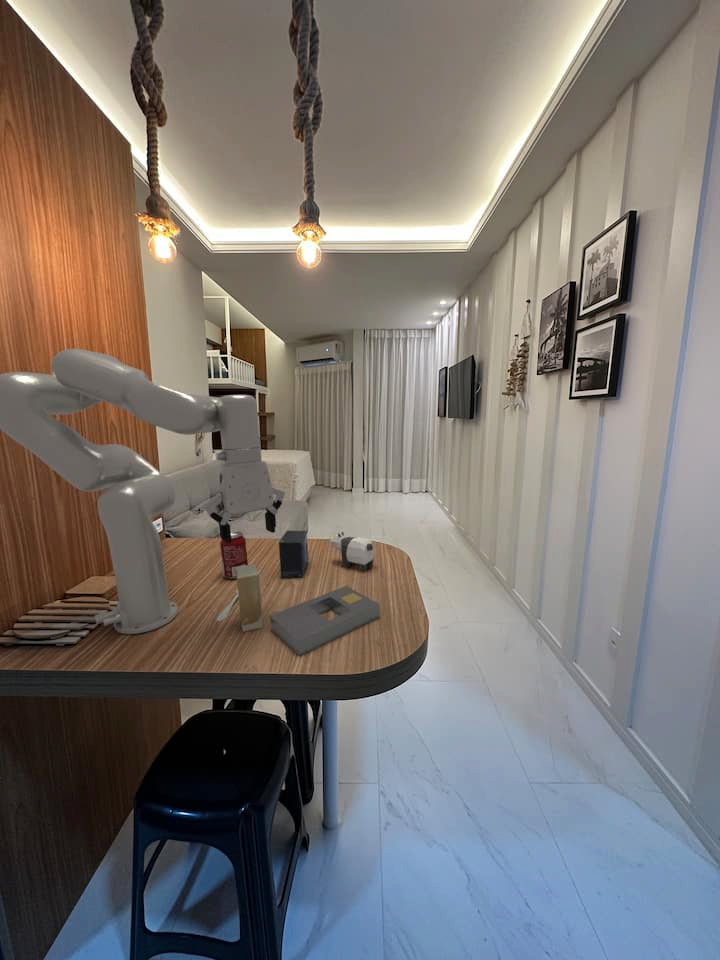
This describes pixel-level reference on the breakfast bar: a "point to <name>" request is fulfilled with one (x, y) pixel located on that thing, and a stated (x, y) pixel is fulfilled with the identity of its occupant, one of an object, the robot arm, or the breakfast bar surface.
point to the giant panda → (354, 551)
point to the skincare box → (249, 597)
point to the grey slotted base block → (323, 619)
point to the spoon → (227, 609)
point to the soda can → (233, 554)
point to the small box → (293, 554)
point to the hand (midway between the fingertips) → (249, 536)
